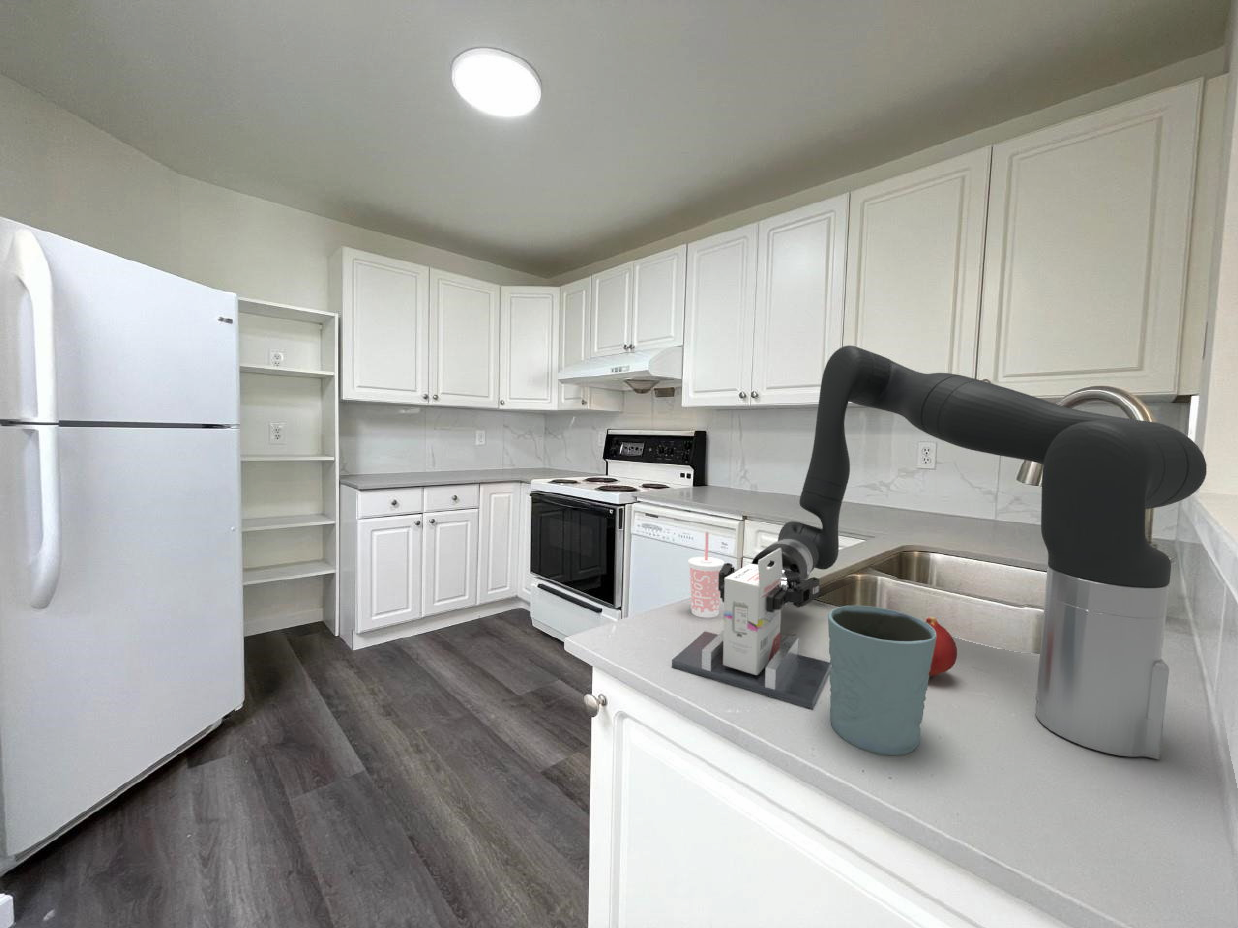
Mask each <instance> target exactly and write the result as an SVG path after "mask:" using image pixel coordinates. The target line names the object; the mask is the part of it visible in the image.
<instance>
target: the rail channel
mask: <svg viewBox="0 0 1238 928" xmlns="http://www.w3.org/2000/svg"><path fill="white" fill-rule="evenodd" d="M723 637H724V629H723V630H722V631H720V632H719V634H717V633H713V632H710V631H703V632H702V633H701V634H700V635H699V636H698V637H696V638H695V639H694V640H693V641H691V643H689V644H688V645H687V646H686V647H685V648H684V649H683V650H682V651H681V652H679V653H678V654H677V655H676V656H675V657H674V658H672V659H671V667H672V668H674V669H676V670H680V671H683V672H687V673H691V674H694V675H696V676H700V677H703V678H707V679H710V680H714V681H717V682H720V683H723V684H727V685H730V686H733V687H737V688H740V689H743V690H746V691H751V692H753V693H756V694H760V695H762V696H763V695H764V696H767V697H770V698H774V699H776V700H780V701H784V702H786V703H789V704H794V705H796V706H800V707H804V708H807V709H810V710H813V709H814V707H815V705H816V703H817V700H818V698H819V697H820V694H821V691H822V690H823V688H824V685H825V683H826V681H827V679H828V676H830V668H831V663H830V661H825V660H822V659H817V658H814V657H809V656H804V655H802V654H799V636H797V635H791V634H789V635H788V636H787V638H786V639H785V640H784V641H783V643H781V646H779V650H778V651H777V652H776V654H775V655H774V657H773V658H772V659H771V661H770V662H769V663H768V664H767V665H766V666H765V667H764V668H763V670H762V671H761V672H760V673H759V674H758V675H754V674H750V673H747V672H744V671H741V670H738V669H735V668H731V667H728V666H725V665H723Z"/></svg>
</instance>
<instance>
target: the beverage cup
mask: <svg viewBox="0 0 1238 928" xmlns="http://www.w3.org/2000/svg"><path fill="white" fill-rule="evenodd" d="M704 541H705V544H704V545H705V546H704V547H705V548H704V552H705V553H704V556H694V557H691V558H689V559H688V560H687V562H688V565H687V566H688V567H689V580H690V606H691V613H692V615H694V616H695V617H700V618H705V619H706V618H709V619H710V618H715V617H717V616H719V615H720V611H719V610H720V602H721V598H720V591H719V590H718V581H719V572H720V570H721V569H722V567H723V565H724V564H725V561H724V560H723V559H720V558H717V557H711V556H709V532H708V531H706V532H705V540H704Z"/></svg>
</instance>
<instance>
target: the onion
mask: <svg viewBox="0 0 1238 928" xmlns="http://www.w3.org/2000/svg"><path fill="white" fill-rule="evenodd" d="M925 622H926V623H928V624H929V625H930V626H932V627H933V628H934V630H935V632H936V635H937V638H936V643H935V648H934V653H933V658H932V663H931V668H930V672H929V678H932V677H935V676H938V675H941V674H944V673H946V672H948V671H950V670H951V669H952V667H954V665H955V664H956V661H957V658H958V648H957V643H956V641H955V639H954V638H953V636H952V635H951V634H950V633H949V632H948V630H947V629H946V628H945V627H944V626H942V625H941V624H940V623H939V622H938V620H937V618H936V617H934V616H928V617H927V618H926V619H925Z"/></svg>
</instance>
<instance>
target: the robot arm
mask: <svg viewBox="0 0 1238 928" xmlns="http://www.w3.org/2000/svg"><path fill="white" fill-rule="evenodd" d="M849 403H853V404H855V405H858V406H864V407H868V408H873V409H877V410H881V411H886V412H890V413H894V414H897V415H899V416H902V417H903V418H905V419H906V420H907V421H908V422H909V423H910V424H911V425H912V426H914V428H916V429H918V430H920V431H922V432H923V433H926V434H927V435H928V436H932V437H933V438H936V439H938V440H941V441H943V442H946V443H948V444H950V445H954V446H957V447H960V448H963V449H965V450H966V449H967V450H971V451H975V452H980V453H985V454H990V455H994V456H1000V457H1005V458H1012V459H1018V460H1023V461H1028V462H1032V463H1037V464H1040V465H1043V466H1042V473H1041V474H1042V475H1041V509H1040V510H1041V513H1040V514H1041V515H1040V530H1041V531H1040V532H1041V537H1042V540H1043V543H1044V545H1045V547H1046V550H1047V555H1048V556H1047V558H1048V559H1047V570H1046V578H1045V579H1046V580H1045V594H1044V605H1043V614H1042V615H1043V616H1042V627H1041V638H1040V640H1041V641H1040V649H1039V651H1040V652H1039V663H1038V664H1039V665H1038V675H1037V687H1036V695H1035V716H1036V718H1037V720H1038V721H1039V723H1041V724H1042V725H1043V726H1045V727H1046V728H1047V729H1048V730H1049V731H1051V732H1053V733H1055V734H1056V735H1058V736H1060V737H1062V738H1064V739H1066V740H1067V741H1070V742H1072V743H1075V744H1077V745H1080V746H1082V747H1085V748H1088V749H1091V750H1094V751H1097V752H1101V753H1105V754H1111V755H1116V756H1120V757H1121V756H1122V757H1130V758H1131V757H1146V758H1150V759H1151V758H1152V759H1155V760H1160V757H1161V751H1162V750H1161V749H1162V740H1163V731H1164V722H1165V721H1164V720H1165V712H1166V705H1167V704H1166V702H1167V696H1168V695H1167V693H1168V684H1169V676H1170V675H1169V674H1170V667H1169V665H1168V663H1166V662H1165V661H1164V659H1163V657H1162V656H1163V647H1164V646H1163V645H1164V638H1165V630H1166V629H1165V626H1166V621H1167V620H1166V619H1167V618H1166V617H1167V611H1168V610H1167V609H1168V599H1169V592H1170V590H1169V589H1170V582H1171V581H1170V580H1171V573H1172V562H1171V559H1170V558H1169V556H1168V555H1167V554H1166V553H1165V552H1164V551H1161V550H1159V549H1157V548H1154V547H1153V546H1152V545H1151V543H1149V541H1148V539H1147V537H1146V536H1147V534H1146V511H1147V510H1150V509H1156V508H1161V507H1165V506H1169V505H1173V504H1175V503H1178V502H1180V501H1183V500H1186V499H1187V498H1189V497H1191V496H1193V494H1194V493H1196V492H1197V491H1198V490H1199V489H1200V487H1201V486H1203V483H1204V482H1205V479H1206V477H1207V472H1208V471H1207V466H1208V464H1207V460H1206V458H1205V456H1204V453H1203V452H1202V450H1201V449H1200V447H1199V446H1198V445H1197V444H1196V443H1195V441H1193V439H1191V438H1190V437H1188V436H1187V435H1186V434H1184V433H1183V432H1182V431H1180V430H1178V429H1176V428H1174V427H1171V426H1170V425H1167V424H1164V423H1160V422H1155V421H1149V420H1148V421H1147V420H1140V419H1133V418H1126V417H1119V416H1112V415H1107V414H1102V413H1096V412H1090V411H1084V410H1079V409H1075V408H1071V407H1067V406H1062V405H1059V404H1056V403H1053V402H1050V401H1048V400H1045V399H1042V398H1038V397H1036V396H1033V395H1030V394H1027V393H1024V392H1021V391H1017V390H1014V389H1011V388H1007V387H1005V386H1001V385H998V384H994V383H991V382H989V381H986V380H981V379H979V378H978V379H977V378H973V377H969V376H966V375H961V374H955V373H950V372H934V373H933V372H931V373H924V372H920V371H916V370H914V369H912V368H909V367H907V366H906V367H905V366H904V365H902V364H899V363H898V362H896V361H893V360H892V359H890V358H889V357H886V356H883V355H881V354H879V353H876V352H873V351H870V350H866V349H864V348H861V347H858V346H855V345H844V346H842V347H839V348H837V350H835V351H834V352H833V353H832V354H831V356H830V357H829V358H828V360H827V362H826V365H825V367H824V370H823V374H822V378H821V383H820V390H819V397H818V404H817V405H818V406H817V413H816V422H815V424H816V425H815V431H814V438H813V439H814V441H813V447H812V453H811V457H810V462H809V465H808V469H807V472H806V474H805V475H806V477H805V478H804V483H803V487H802V490H801V492H800V497H799V501H798V502H799V505H800V508H801V509H802V510H803V509H804V510H805V511H807V512H808V513H811V514H812V515H814V516H816V517H817V518H818V519H819V520H820V522H821V526H822V528H821V527H816V526H813V525H810V524H806V523H804V522H800V521H795V520H794V521H787V522H785V523H784V524H783V526H782V527H781V528H780V531H779V534H778V538H777V541H774V542H773V543H771V544H770V545H769V546H767V547H766V548H764V549H763V550H762V551H760V552H758V553H757V554H756V555H755V557H754V558H753V559H752V561H751V563H750V564H756V565H758V561H759V560H760V559H762V558H764V557H765V556H767V555H768V554H770V553H772V552H773V551H776V550H777V549H779V548H781V551H782V570H783V577H782V580H781V582H780V583H779V584H778V588H777V587H775V588H774V589H773V590H772V591H771V592H770V593H769V594H768V596H767V612H772V613H773V612H774V611H775V610H779V609H781V610H782V608H783V607H784V606H788V605H789V603H793V606H795V607H796V608H802V607H804V606H806V605H807V604H809V603H811V602H812V601H814V600H816V599H818V598H819V596H820V595H819V594H820V579H819V578H817V577H815V576H814V577H810V575H811V572H812V571H814V569H818V570H828V569H829V568H831V567H832V566H833V565H834V564H835V563H836V561H837V559H838V556H839V550H840V549H839V547H840V546H839V544H840V543H839V540H840V539H839V522H840V513H841V507H842V505H843V504H842V503H843V500H844V496H845V493H846V490H847V487H848V483H849V478H850V474H851V462H850V456H849V455H850V454H849V450H848V445H847V444H848V443H847V440H846V439H847V438H846V430H845V429H846V427H845V419H846V412H847V408H848V405H849ZM773 565H774V561H771V560H770V563H769V564H768V565H767V567H772V566H773ZM738 570H739V569H737V568H735V566H733V564H732V563H730V562H726V563H725V564H724V565H723V567H722V569H721V570H720V572H719V581H718V590H719V591H720V599H721V601H722V602H723V603H724V590H725V586H724V585H725V580H724V578H726V577H727V576H729V575H731V574H733V573H735V572H736V571H738ZM809 577H810V578H809Z"/></svg>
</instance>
